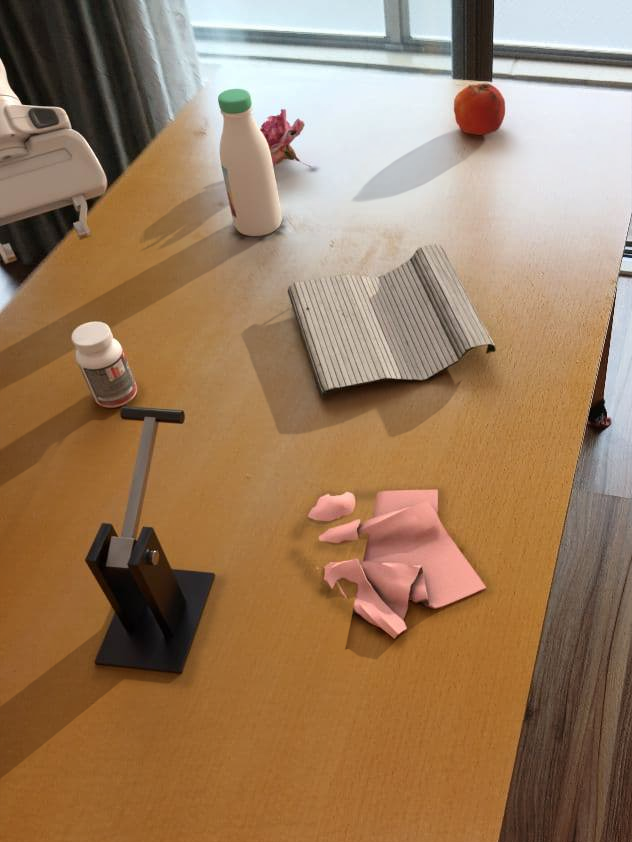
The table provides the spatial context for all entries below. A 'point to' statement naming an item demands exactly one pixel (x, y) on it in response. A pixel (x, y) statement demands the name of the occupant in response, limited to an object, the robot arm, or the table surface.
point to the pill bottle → (103, 365)
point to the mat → (387, 323)
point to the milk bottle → (247, 167)
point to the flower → (281, 137)
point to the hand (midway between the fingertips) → (48, 248)
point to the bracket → (148, 605)
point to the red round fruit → (479, 109)
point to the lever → (138, 480)
